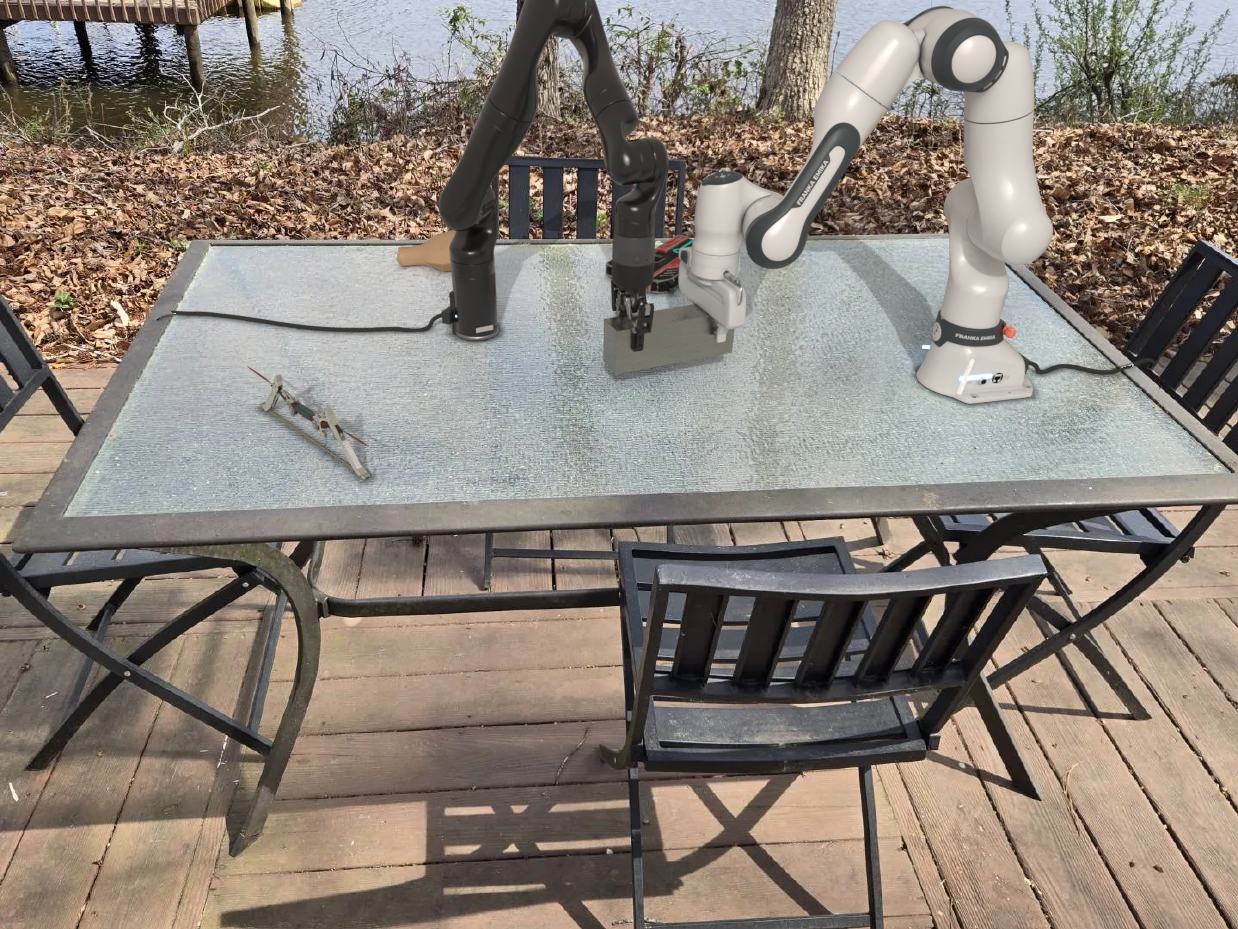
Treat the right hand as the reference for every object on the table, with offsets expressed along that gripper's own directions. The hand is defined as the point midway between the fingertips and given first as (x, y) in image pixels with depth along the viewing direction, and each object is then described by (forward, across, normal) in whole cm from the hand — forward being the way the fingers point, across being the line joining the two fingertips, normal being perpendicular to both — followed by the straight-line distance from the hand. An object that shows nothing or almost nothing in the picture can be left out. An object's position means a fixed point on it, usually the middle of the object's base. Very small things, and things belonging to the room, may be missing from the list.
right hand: (708, 331), depth 170 cm
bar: (+4, 0, +8) cm, 9 cm away
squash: (+12, +80, +34) cm, 87 cm away
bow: (+12, +6, +75) cm, 76 cm away
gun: (+11, +57, -20) cm, 61 cm away
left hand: (0, 0, +17) cm, 17 cm away
